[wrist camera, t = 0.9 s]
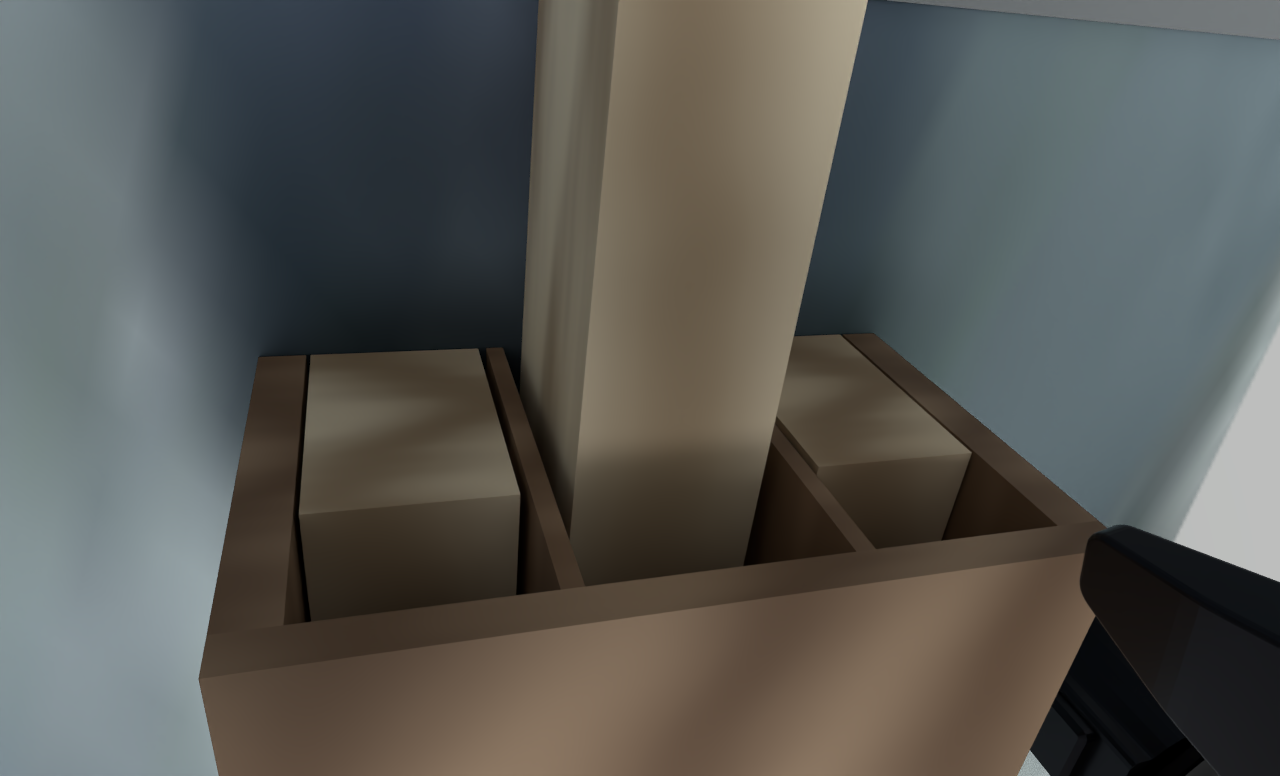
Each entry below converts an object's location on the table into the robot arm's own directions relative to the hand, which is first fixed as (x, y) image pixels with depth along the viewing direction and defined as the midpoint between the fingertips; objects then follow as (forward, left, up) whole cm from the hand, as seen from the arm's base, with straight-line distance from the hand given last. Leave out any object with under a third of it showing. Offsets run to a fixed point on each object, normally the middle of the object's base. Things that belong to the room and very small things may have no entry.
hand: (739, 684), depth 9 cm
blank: (-2, -1, -13) cm, 13 cm away
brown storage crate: (-2, +7, -13) cm, 15 cm away
